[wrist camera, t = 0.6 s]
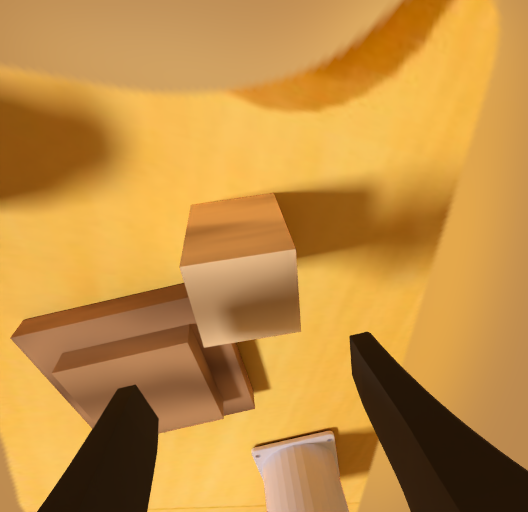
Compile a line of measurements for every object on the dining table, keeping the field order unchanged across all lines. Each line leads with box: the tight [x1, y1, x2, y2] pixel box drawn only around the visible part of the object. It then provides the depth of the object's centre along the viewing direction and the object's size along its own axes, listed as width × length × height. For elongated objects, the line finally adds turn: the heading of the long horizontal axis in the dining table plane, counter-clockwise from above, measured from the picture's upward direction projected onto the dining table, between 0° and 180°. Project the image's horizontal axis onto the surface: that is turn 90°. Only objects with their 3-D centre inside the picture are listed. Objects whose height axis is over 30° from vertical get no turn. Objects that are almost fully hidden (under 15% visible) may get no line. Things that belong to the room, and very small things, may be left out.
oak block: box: [180, 193, 301, 348], centre depth 16 cm, size 4×4×6 cm
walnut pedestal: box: [11, 283, 255, 433], centre depth 22 cm, size 12×12×3 cm
